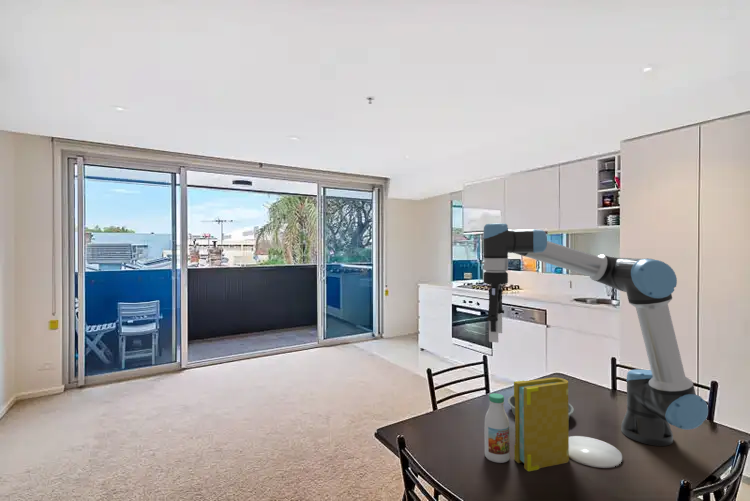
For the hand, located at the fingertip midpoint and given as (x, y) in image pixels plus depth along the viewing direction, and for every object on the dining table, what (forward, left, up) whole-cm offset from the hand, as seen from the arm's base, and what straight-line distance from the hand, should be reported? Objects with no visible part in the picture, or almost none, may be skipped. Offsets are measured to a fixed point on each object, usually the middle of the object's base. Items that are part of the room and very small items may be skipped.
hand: (495, 337), depth 126 cm
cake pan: (-13, -40, -39) cm, 57 cm away
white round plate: (-28, -14, -39) cm, 50 cm away
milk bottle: (0, 0, -39) cm, 39 cm away
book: (-14, -3, -39) cm, 42 cm away
